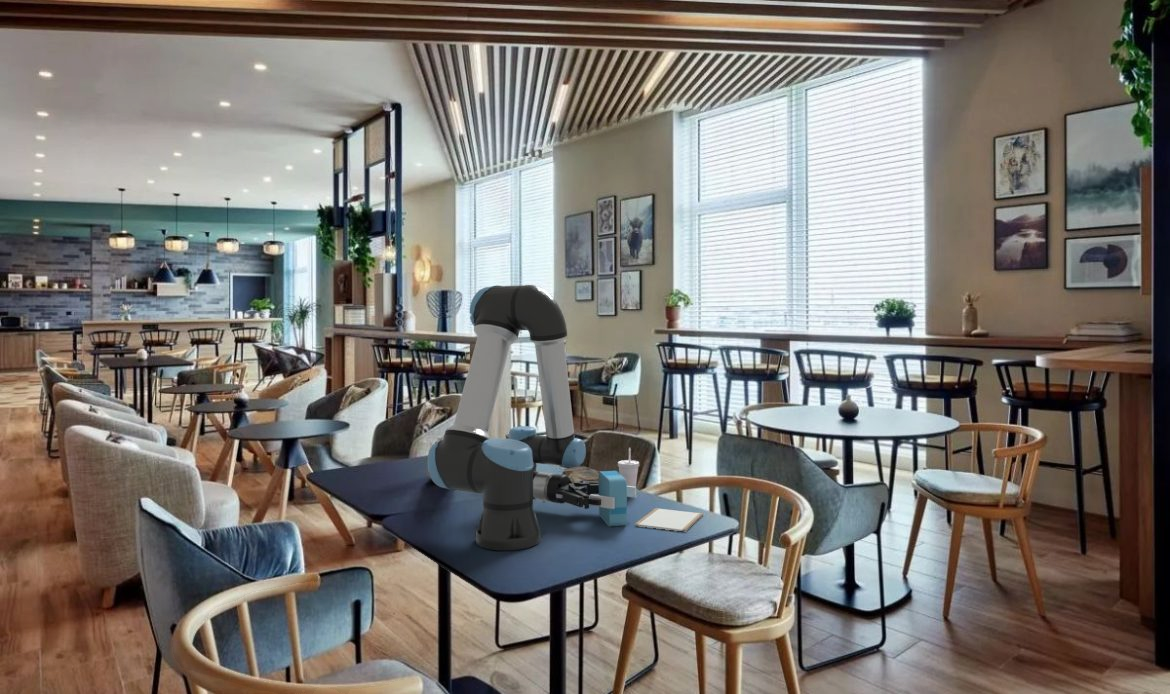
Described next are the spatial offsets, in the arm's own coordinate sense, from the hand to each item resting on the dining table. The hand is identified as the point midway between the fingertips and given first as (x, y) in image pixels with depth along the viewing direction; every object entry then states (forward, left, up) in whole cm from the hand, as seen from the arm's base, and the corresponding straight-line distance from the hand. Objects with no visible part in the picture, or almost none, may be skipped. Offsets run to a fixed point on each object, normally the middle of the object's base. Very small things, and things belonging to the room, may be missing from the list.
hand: (625, 497), depth 184 cm
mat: (+6, -10, -6) cm, 13 cm away
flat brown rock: (+36, +28, -7) cm, 46 cm away
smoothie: (+27, +10, -7) cm, 30 cm away
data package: (0, +4, -7) cm, 8 cm away
